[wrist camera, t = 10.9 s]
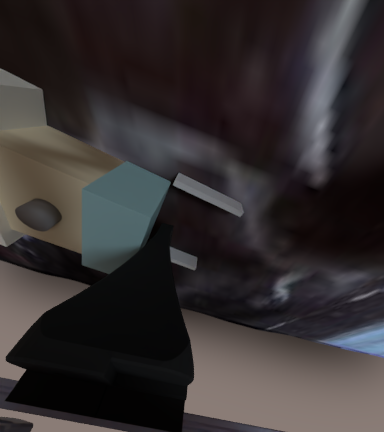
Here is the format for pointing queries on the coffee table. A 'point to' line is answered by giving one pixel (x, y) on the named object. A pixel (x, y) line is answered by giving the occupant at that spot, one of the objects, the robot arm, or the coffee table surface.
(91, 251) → the block
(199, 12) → the coffee table surface
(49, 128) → the block
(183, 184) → the press frame
